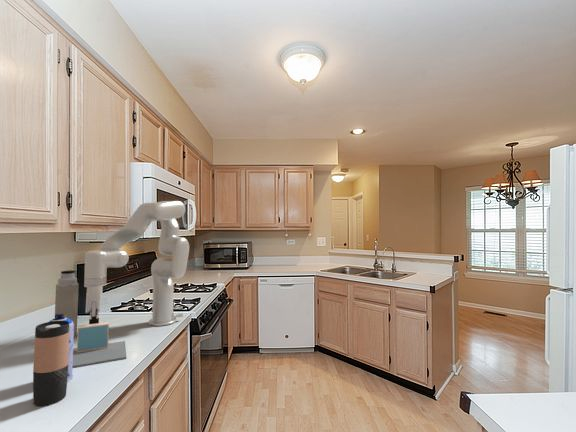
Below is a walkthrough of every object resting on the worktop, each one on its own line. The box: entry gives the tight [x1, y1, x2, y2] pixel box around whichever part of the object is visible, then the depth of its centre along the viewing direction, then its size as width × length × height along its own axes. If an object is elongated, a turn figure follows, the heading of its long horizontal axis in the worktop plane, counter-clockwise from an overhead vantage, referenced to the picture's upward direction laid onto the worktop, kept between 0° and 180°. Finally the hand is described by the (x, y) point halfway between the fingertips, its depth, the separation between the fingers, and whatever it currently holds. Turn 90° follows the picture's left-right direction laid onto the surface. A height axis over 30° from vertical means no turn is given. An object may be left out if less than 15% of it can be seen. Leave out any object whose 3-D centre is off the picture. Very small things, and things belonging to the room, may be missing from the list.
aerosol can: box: [48, 313, 74, 383], centre depth 96 cm, size 8×8×20 cm
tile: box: [76, 321, 110, 353], centre depth 119 cm, size 10×3×9 cm, turn 119°
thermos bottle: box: [54, 269, 79, 338], centre depth 134 cm, size 8×8×28 cm
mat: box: [72, 340, 127, 369], centre depth 115 cm, size 22×18×1 cm
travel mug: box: [32, 321, 69, 407], centre depth 86 cm, size 8×8×20 cm
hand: (93, 328), depth 124 cm, fingers closed
